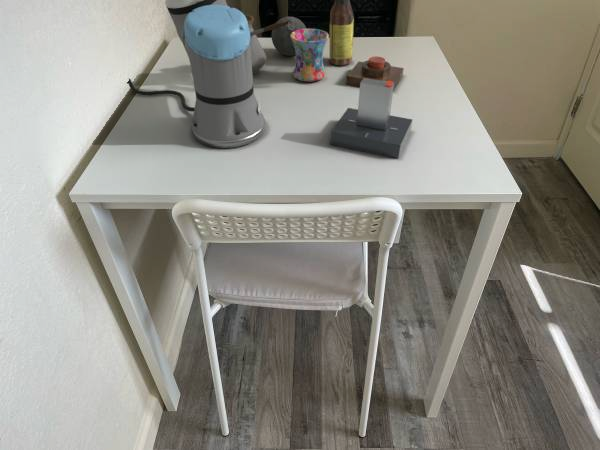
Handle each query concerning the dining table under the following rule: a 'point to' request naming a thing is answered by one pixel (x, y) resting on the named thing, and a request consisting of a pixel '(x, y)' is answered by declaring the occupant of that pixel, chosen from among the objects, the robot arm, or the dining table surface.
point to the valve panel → (371, 135)
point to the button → (376, 62)
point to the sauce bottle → (341, 32)
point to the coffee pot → (256, 50)
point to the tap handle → (375, 103)
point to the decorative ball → (286, 36)
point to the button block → (374, 73)
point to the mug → (309, 54)
